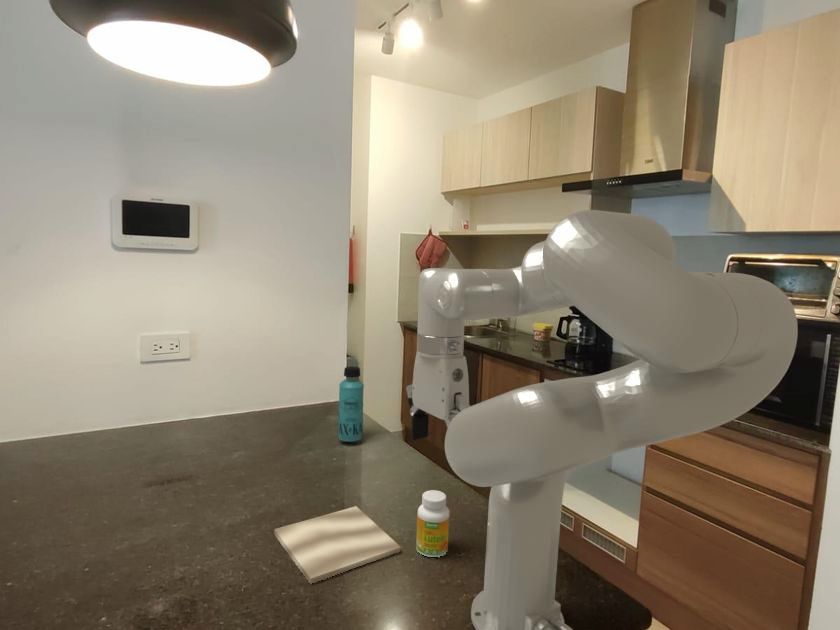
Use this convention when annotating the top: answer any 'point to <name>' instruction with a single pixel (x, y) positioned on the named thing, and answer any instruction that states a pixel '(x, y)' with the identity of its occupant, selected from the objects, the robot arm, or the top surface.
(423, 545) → the supplement bottle
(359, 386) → the beverage bottle
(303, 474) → the top surface
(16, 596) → the top surface
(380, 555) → the birch board
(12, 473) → the top surface
